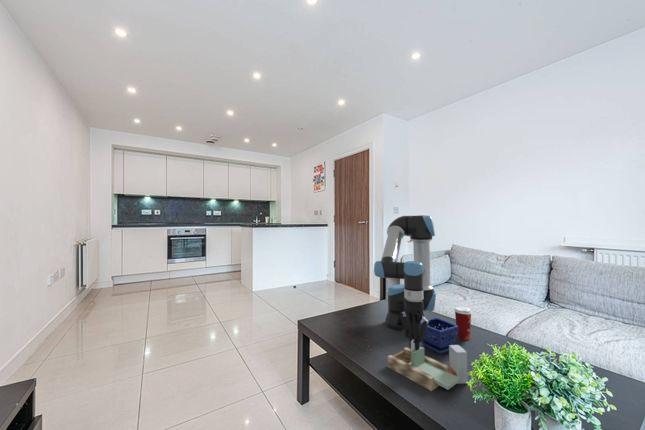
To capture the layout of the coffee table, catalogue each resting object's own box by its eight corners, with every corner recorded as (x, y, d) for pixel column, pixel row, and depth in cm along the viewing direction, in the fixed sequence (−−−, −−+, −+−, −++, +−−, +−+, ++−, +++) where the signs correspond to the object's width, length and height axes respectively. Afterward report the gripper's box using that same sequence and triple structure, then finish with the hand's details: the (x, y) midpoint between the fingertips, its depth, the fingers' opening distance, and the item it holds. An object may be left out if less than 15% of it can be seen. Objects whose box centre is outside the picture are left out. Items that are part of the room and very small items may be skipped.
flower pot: (440, 358, 119) (440, 331, 119) (417, 345, 131) (417, 321, 131) (459, 351, 125) (459, 325, 125) (436, 339, 137) (435, 316, 137)
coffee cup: (474, 341, 134) (474, 311, 134) (457, 340, 136) (456, 311, 136) (469, 334, 142) (468, 306, 143) (452, 333, 144) (452, 305, 144)
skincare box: (449, 374, 106) (448, 344, 106) (459, 374, 106) (458, 344, 107) (457, 384, 100) (456, 352, 100) (468, 383, 100) (467, 352, 100)
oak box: (387, 367, 112) (387, 356, 112) (406, 357, 120) (406, 347, 120) (431, 391, 96) (431, 378, 96) (449, 378, 104) (449, 366, 104)
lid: (405, 367, 108) (405, 350, 108) (418, 361, 113) (417, 344, 113) (448, 389, 93) (447, 369, 94) (459, 381, 98) (459, 361, 99)
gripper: (395, 297, 112) (396, 353, 112) (422, 305, 102) (423, 366, 102) (406, 294, 117) (406, 347, 117) (433, 301, 107) (434, 360, 106)
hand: (414, 356), depth 109 cm, fingers closed
